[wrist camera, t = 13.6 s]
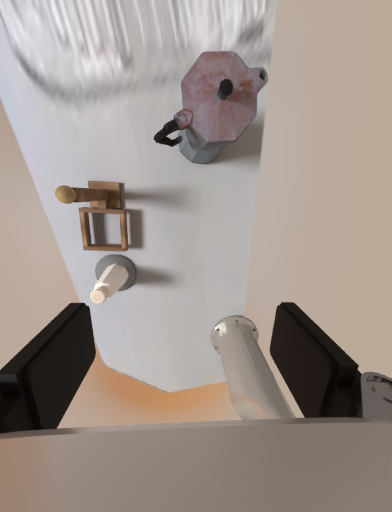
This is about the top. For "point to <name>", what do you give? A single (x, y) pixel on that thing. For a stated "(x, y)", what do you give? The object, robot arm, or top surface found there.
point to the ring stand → (97, 209)
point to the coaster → (121, 261)
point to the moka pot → (214, 105)
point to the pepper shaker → (109, 283)
